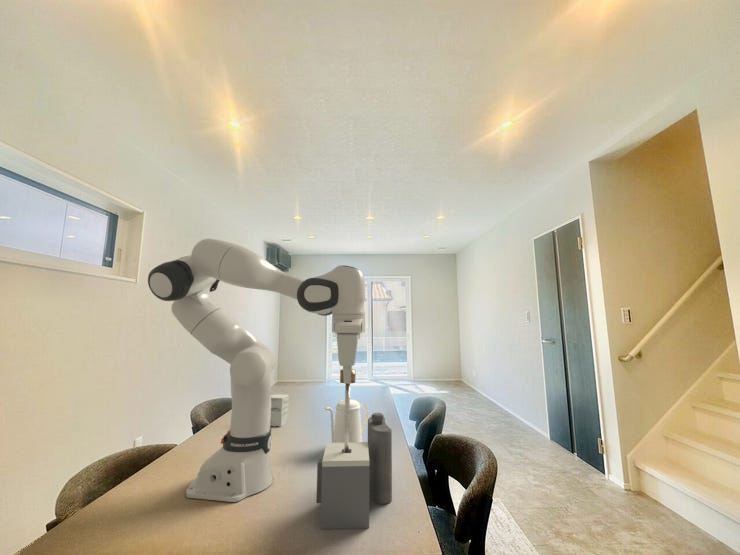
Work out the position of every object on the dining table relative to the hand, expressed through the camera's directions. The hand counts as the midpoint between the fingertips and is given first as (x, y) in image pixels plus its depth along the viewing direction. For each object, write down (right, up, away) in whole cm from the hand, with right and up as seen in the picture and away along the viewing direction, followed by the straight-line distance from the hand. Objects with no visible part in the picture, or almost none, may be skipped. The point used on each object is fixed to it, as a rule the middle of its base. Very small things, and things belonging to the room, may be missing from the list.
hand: (347, 379), depth 78 cm
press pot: (0, -31, -5) cm, 32 cm away
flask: (+8, -33, +6) cm, 35 cm away
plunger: (0, -22, -4) cm, 22 cm away
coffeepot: (-3, -37, +32) cm, 49 cm away
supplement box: (-37, -42, +61) cm, 82 cm away
